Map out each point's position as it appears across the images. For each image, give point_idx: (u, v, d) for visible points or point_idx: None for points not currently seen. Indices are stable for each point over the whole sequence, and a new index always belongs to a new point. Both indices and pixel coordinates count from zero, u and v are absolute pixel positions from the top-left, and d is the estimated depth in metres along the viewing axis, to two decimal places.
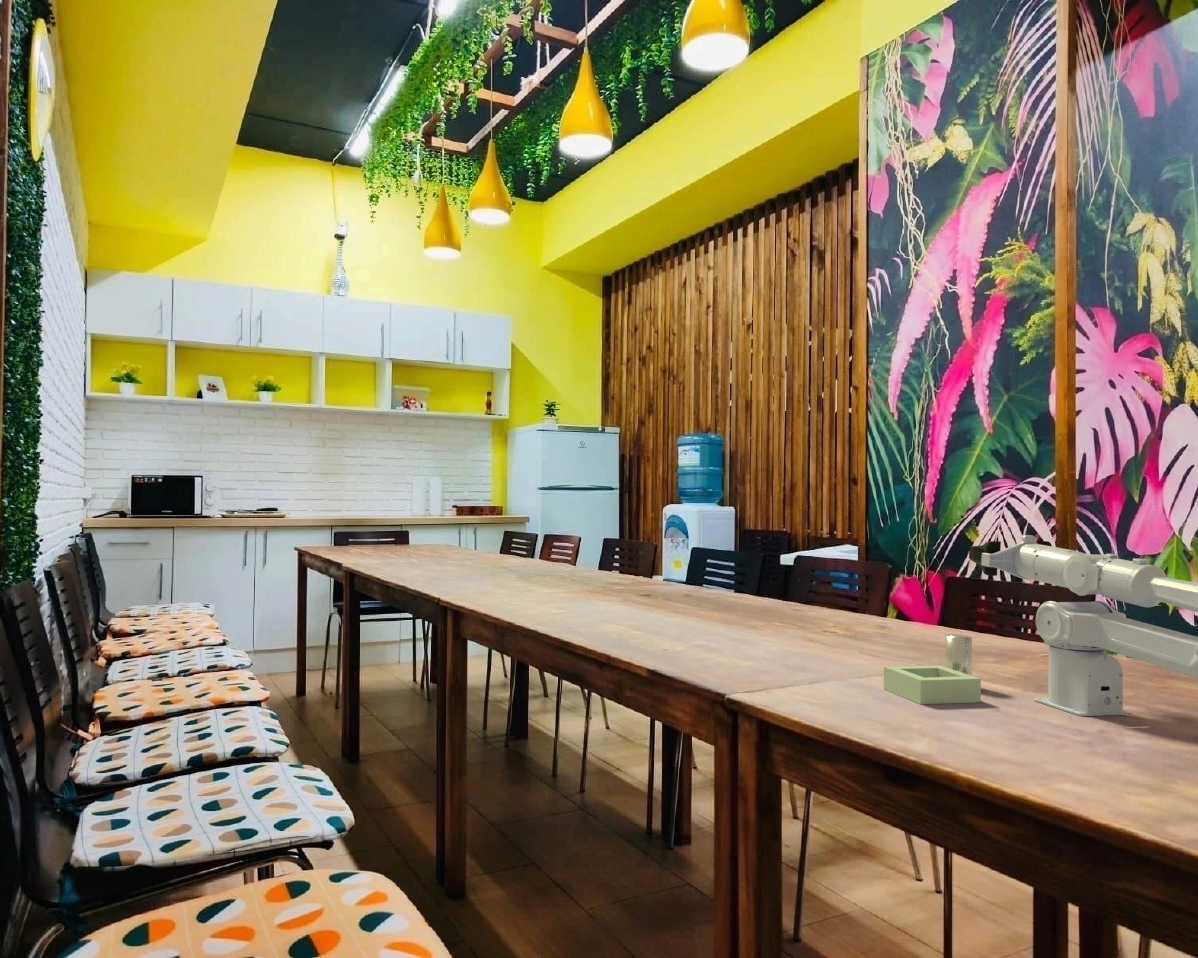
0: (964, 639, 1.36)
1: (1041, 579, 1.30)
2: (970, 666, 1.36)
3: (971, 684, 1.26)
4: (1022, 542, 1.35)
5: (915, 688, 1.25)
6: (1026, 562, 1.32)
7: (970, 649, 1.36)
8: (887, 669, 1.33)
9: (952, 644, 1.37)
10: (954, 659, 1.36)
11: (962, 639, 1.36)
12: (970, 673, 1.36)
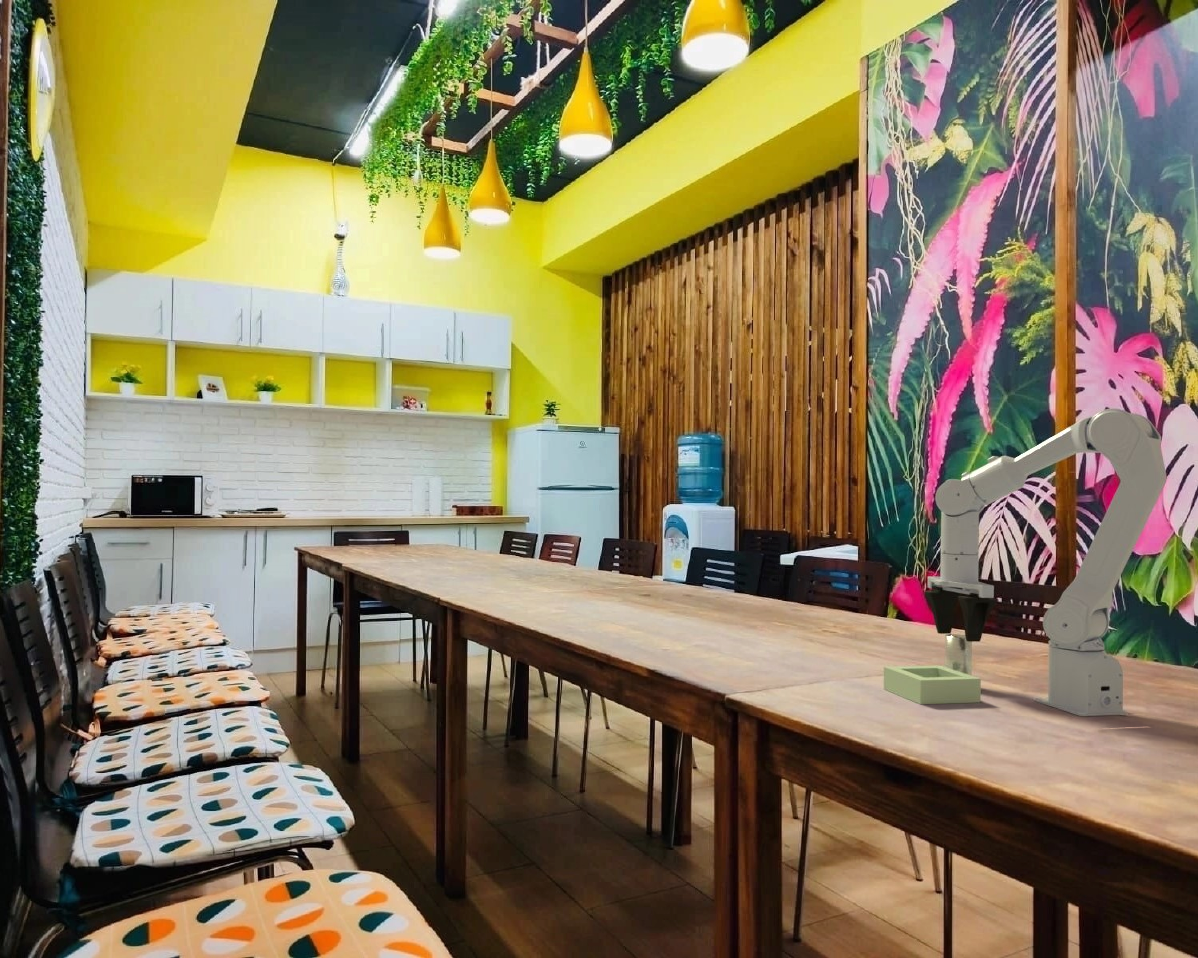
0: (964, 639, 1.36)
1: (968, 550, 1.35)
2: (970, 666, 1.36)
3: (971, 684, 1.26)
4: (947, 582, 1.36)
5: (915, 688, 1.25)
6: (969, 564, 1.35)
7: (970, 649, 1.36)
8: (887, 669, 1.33)
9: (952, 644, 1.37)
10: (954, 659, 1.36)
11: (962, 639, 1.36)
12: (970, 673, 1.36)
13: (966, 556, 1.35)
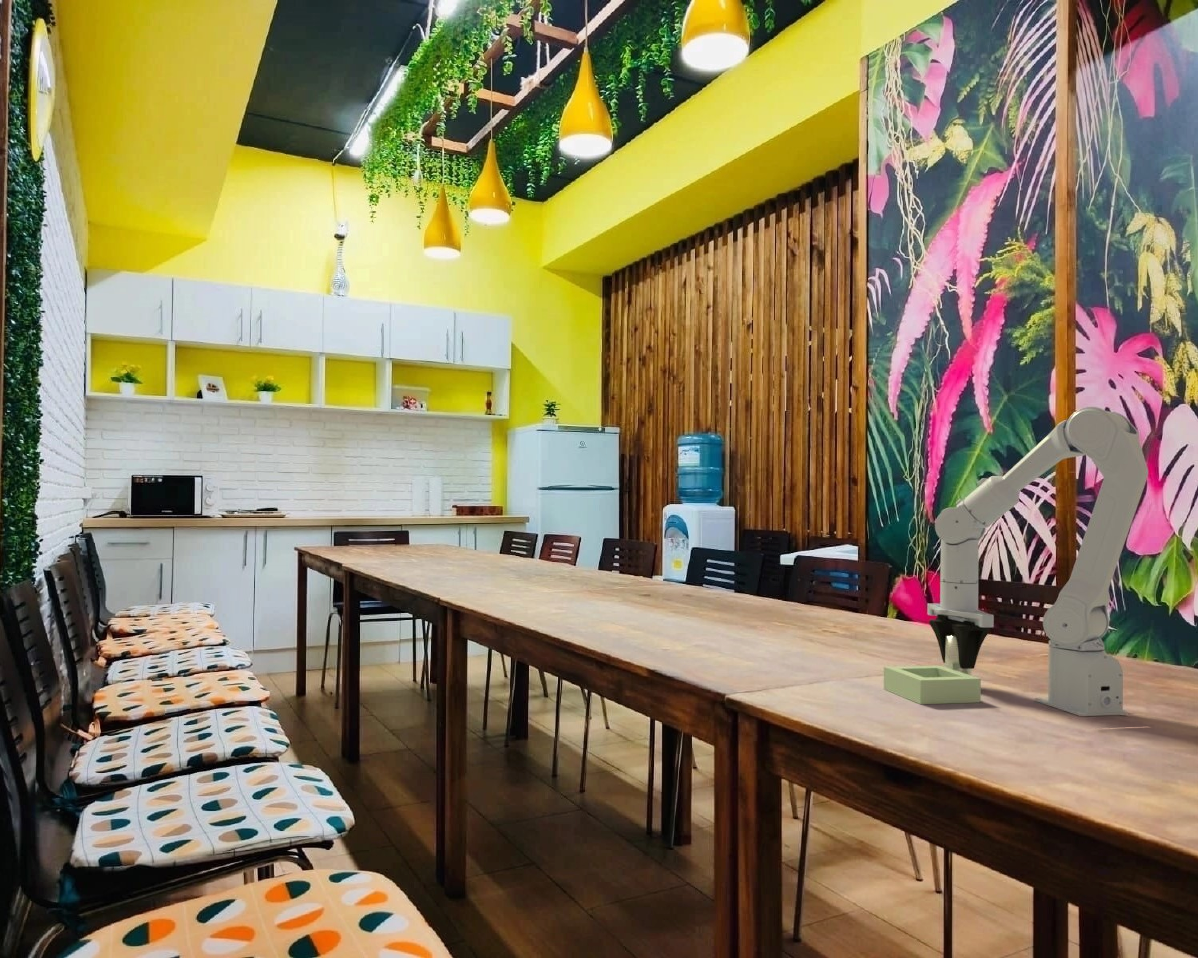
0: None
1: (967, 579, 1.35)
2: None
3: (971, 684, 1.26)
4: (947, 611, 1.36)
5: (915, 688, 1.25)
6: (969, 593, 1.35)
7: None
8: (887, 669, 1.33)
9: (952, 644, 1.37)
10: (954, 659, 1.36)
11: None
12: (970, 673, 1.36)
13: (966, 585, 1.35)
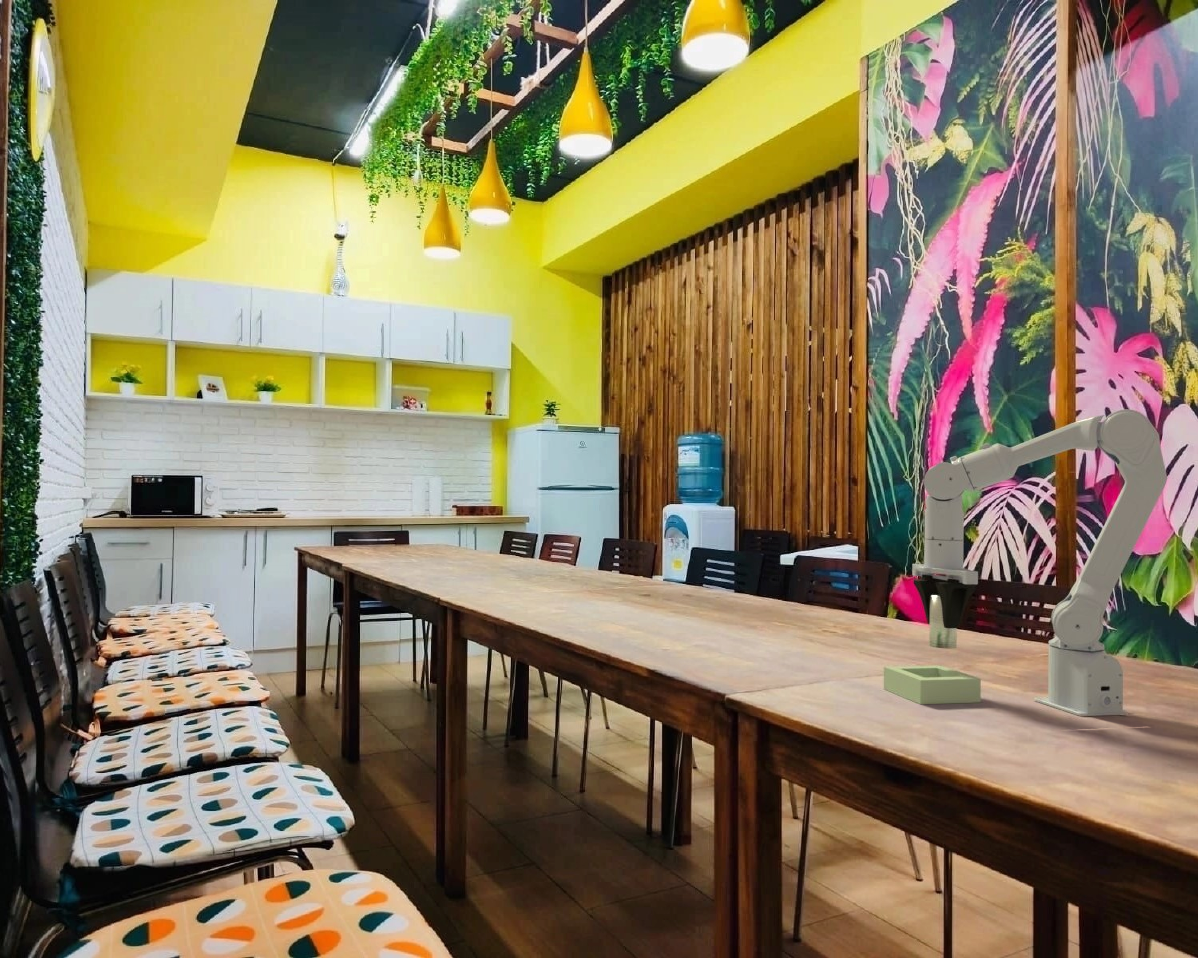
0: None
1: (958, 536, 1.31)
2: None
3: (971, 684, 1.26)
4: (931, 569, 1.32)
5: (915, 688, 1.25)
6: (953, 550, 1.31)
7: None
8: (887, 669, 1.33)
9: (936, 603, 1.32)
10: (939, 619, 1.32)
11: None
12: (955, 633, 1.32)
13: (950, 542, 1.31)
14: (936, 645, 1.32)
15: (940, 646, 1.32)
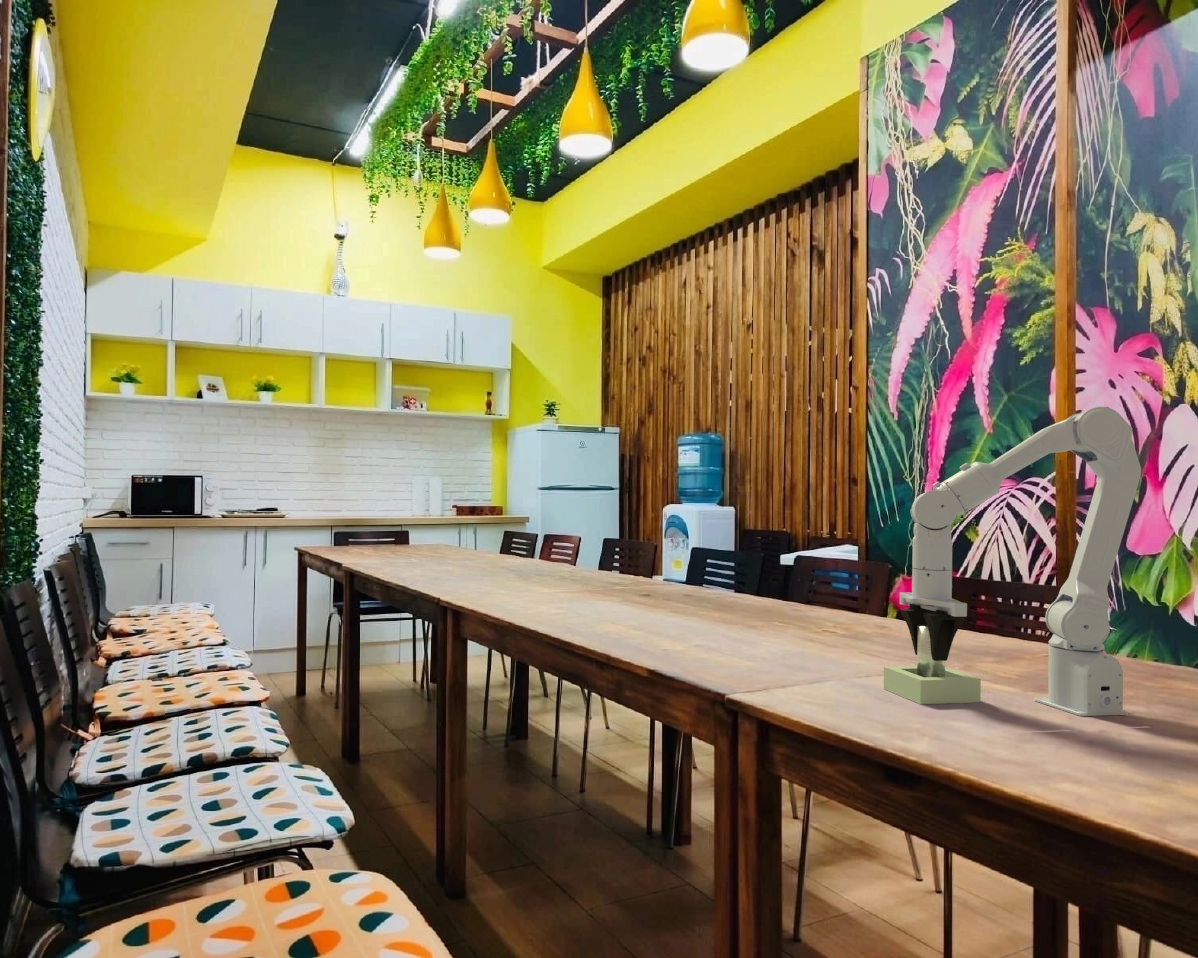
0: None
1: (949, 566, 1.28)
2: None
3: (971, 684, 1.26)
4: (919, 600, 1.28)
5: (915, 688, 1.25)
6: (942, 580, 1.27)
7: None
8: (887, 669, 1.33)
9: (925, 635, 1.29)
10: (927, 651, 1.28)
11: None
12: (944, 666, 1.29)
13: (938, 572, 1.27)
14: None
15: None
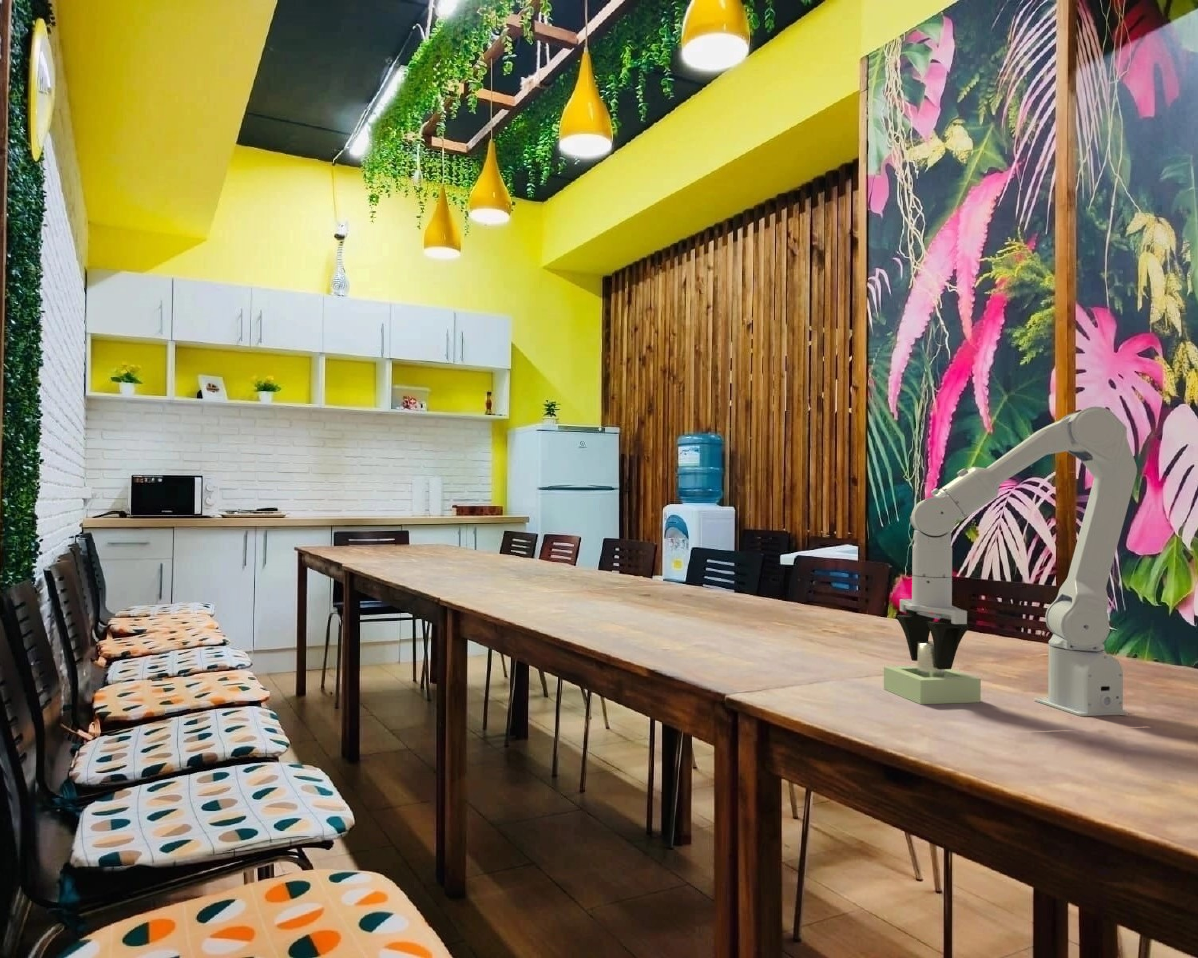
0: None
1: (948, 573, 1.28)
2: (943, 675, 1.29)
3: (971, 684, 1.26)
4: (919, 607, 1.28)
5: (915, 688, 1.25)
6: (942, 587, 1.27)
7: None
8: (887, 669, 1.33)
9: (924, 652, 1.29)
10: (927, 668, 1.28)
11: None
12: None
13: (938, 579, 1.27)
14: None
15: None
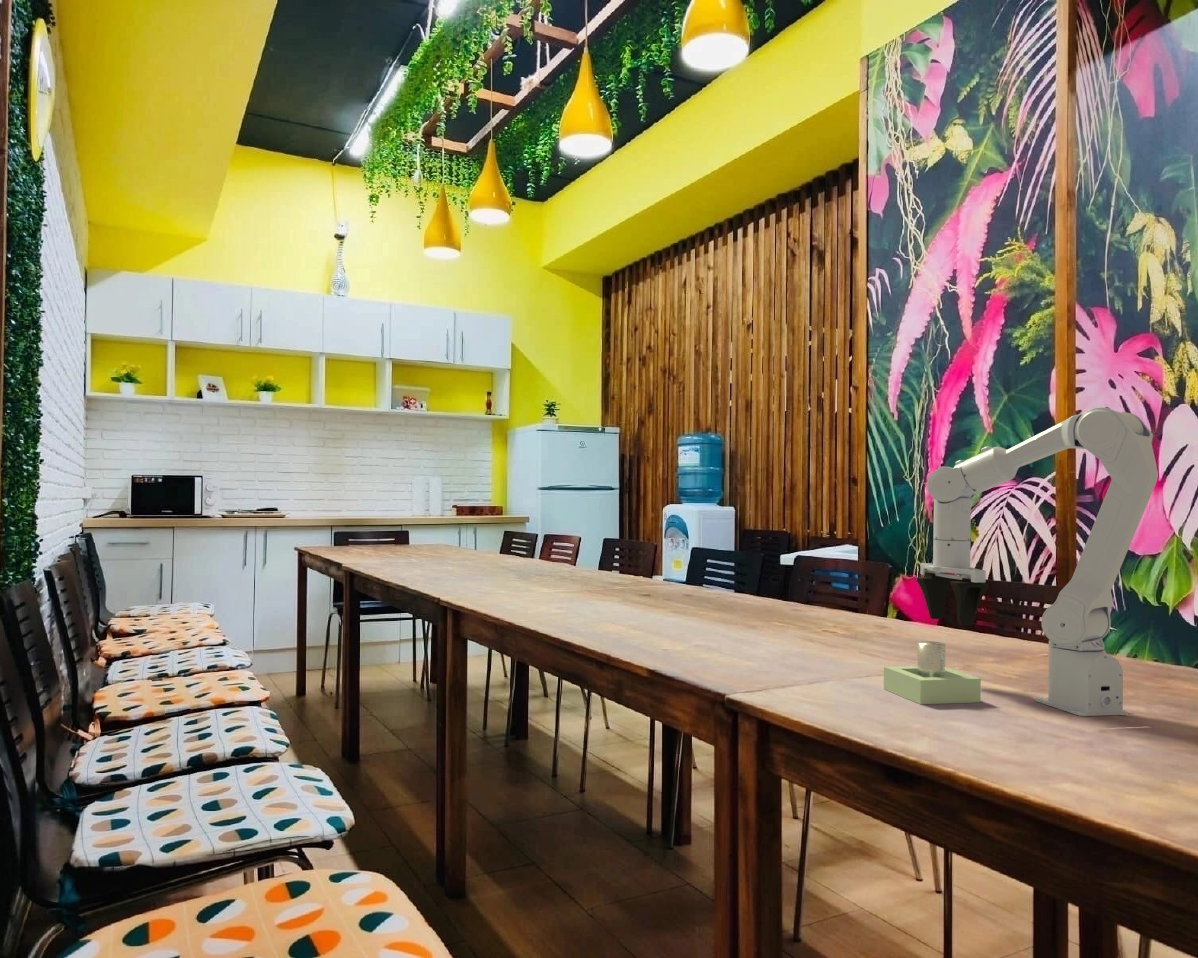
0: (937, 646, 1.28)
1: (959, 536, 1.38)
2: (943, 675, 1.29)
3: (971, 684, 1.26)
4: (940, 568, 1.38)
5: (915, 688, 1.25)
6: (962, 550, 1.38)
7: (943, 657, 1.29)
8: (887, 669, 1.33)
9: (924, 652, 1.29)
10: (927, 668, 1.28)
11: (935, 646, 1.28)
12: None
13: (958, 542, 1.38)
14: None
15: None
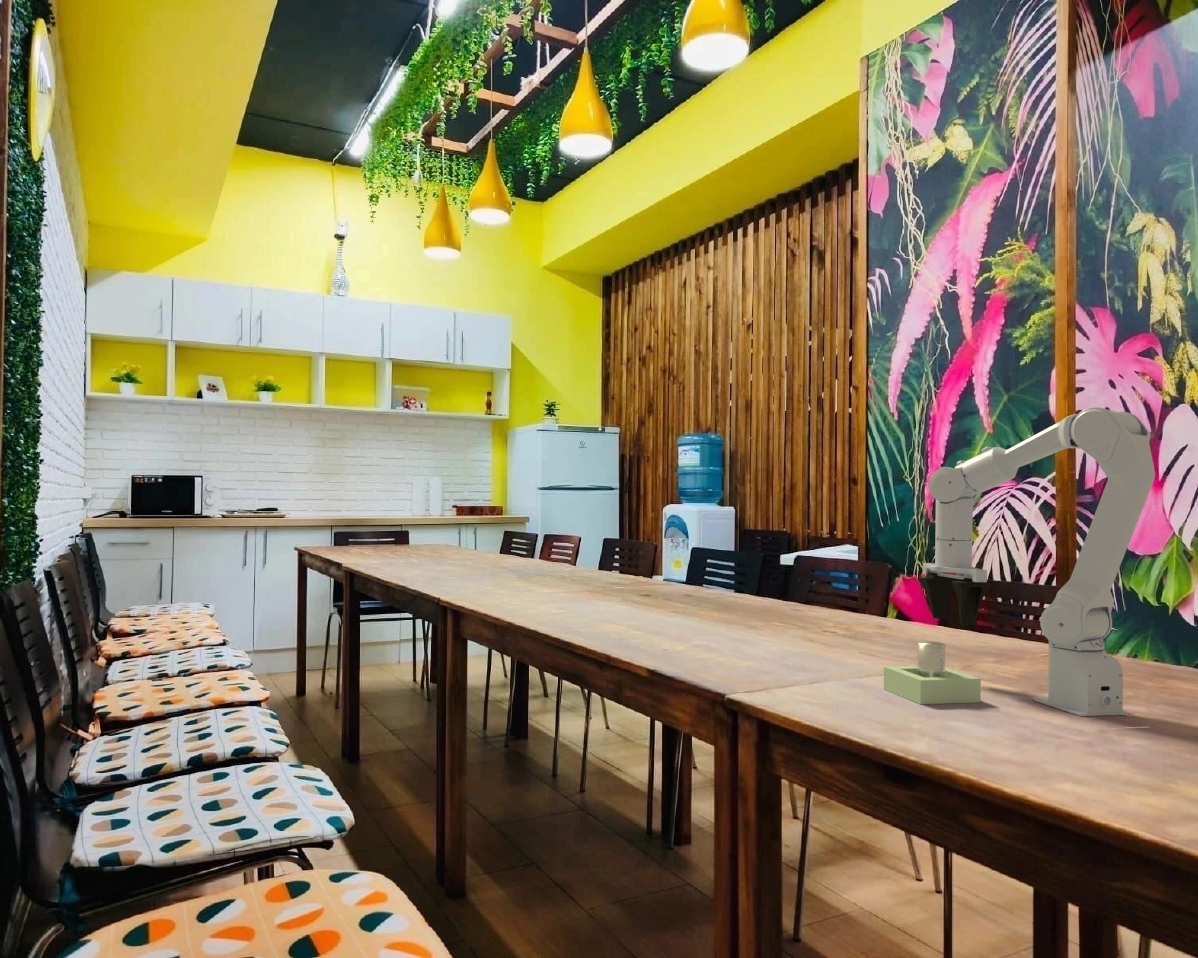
0: (937, 646, 1.28)
1: (960, 536, 1.39)
2: (943, 675, 1.29)
3: (971, 684, 1.26)
4: (942, 568, 1.39)
5: (915, 688, 1.25)
6: (963, 550, 1.38)
7: (943, 657, 1.29)
8: (887, 669, 1.33)
9: (924, 652, 1.29)
10: (927, 668, 1.28)
11: (935, 646, 1.28)
12: None
13: (960, 542, 1.38)
14: None
15: None
